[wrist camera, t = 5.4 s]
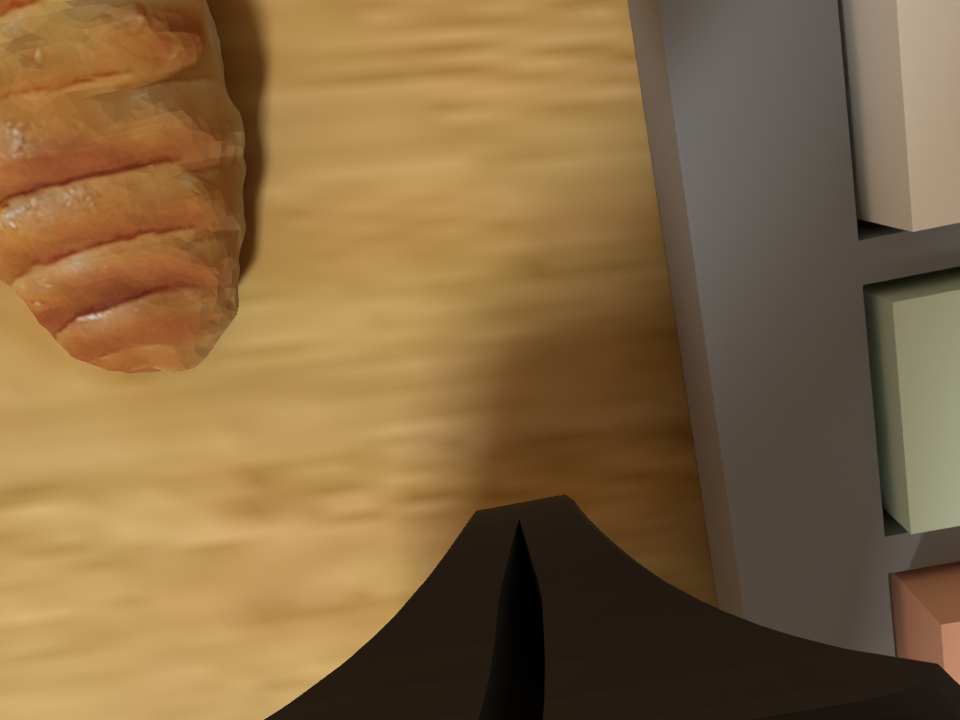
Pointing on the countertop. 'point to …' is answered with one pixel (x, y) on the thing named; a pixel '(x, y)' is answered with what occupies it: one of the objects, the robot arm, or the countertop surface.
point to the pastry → (120, 178)
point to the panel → (778, 311)
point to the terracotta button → (927, 615)
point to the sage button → (917, 395)
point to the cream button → (903, 109)
